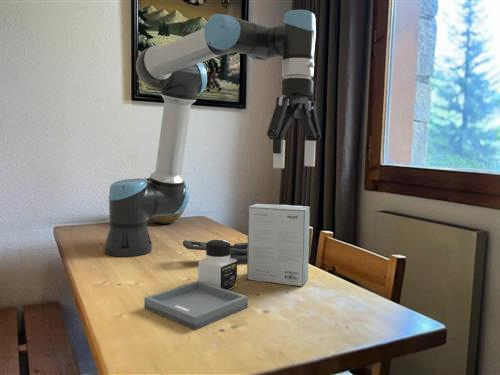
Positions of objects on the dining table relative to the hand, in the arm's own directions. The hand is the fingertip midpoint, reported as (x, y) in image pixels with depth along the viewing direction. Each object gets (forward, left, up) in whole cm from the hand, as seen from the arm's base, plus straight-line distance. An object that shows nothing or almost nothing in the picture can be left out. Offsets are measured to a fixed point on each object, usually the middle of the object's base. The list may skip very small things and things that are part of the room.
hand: (294, 167), depth 109 cm
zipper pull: (-29, +7, -31) cm, 43 cm away
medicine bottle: (-14, -12, -31) cm, 36 cm away
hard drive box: (-7, +4, -31) cm, 32 cm away
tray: (-8, -25, -31) cm, 40 cm away
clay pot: (-89, +33, -31) cm, 100 cm away
